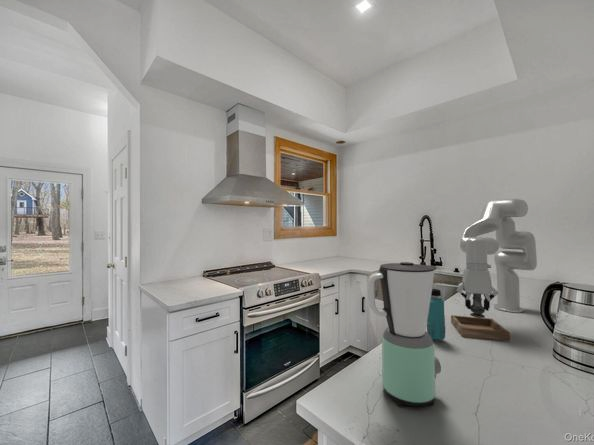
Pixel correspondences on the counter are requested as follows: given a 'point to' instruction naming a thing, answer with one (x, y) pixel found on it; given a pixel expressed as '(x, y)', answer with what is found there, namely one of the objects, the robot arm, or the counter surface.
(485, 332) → the tray
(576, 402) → the counter surface
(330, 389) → the counter surface
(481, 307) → the dark grey rounded piece
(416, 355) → the mint green blender
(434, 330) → the beverage bottle
